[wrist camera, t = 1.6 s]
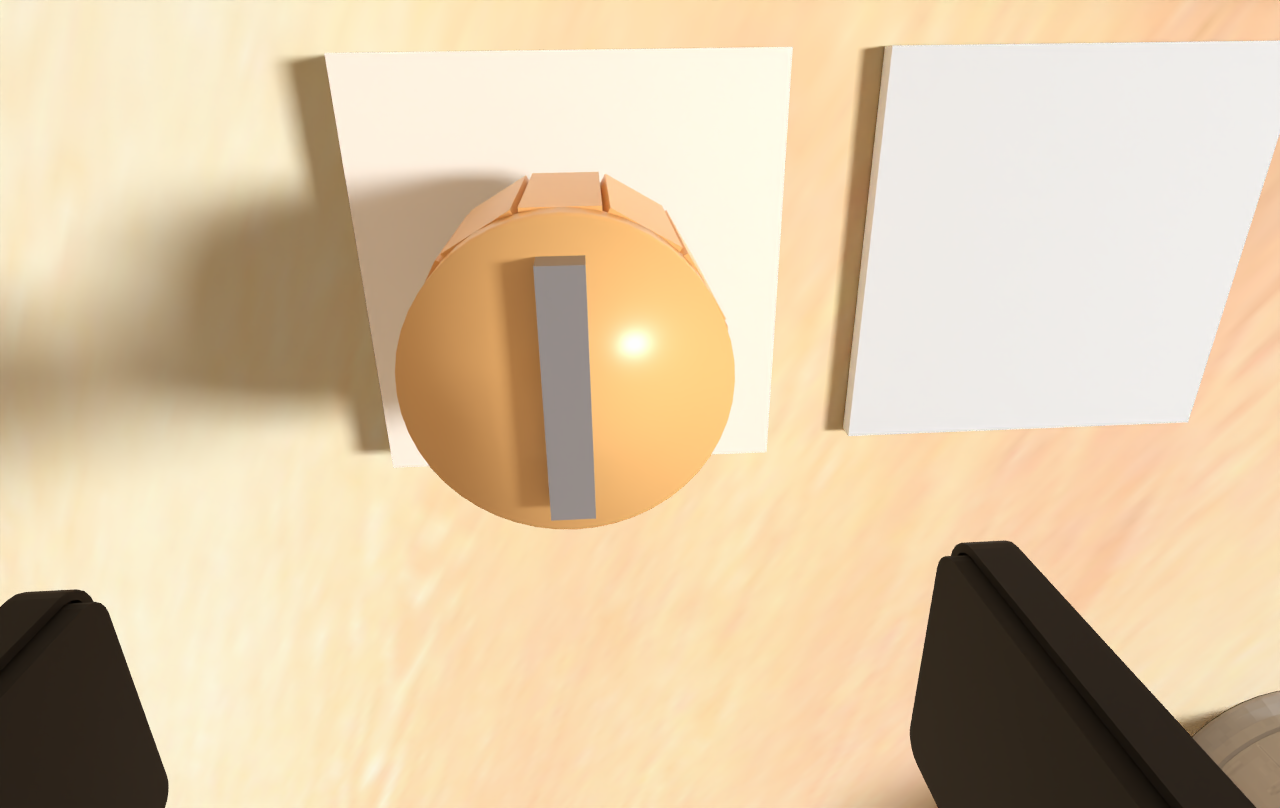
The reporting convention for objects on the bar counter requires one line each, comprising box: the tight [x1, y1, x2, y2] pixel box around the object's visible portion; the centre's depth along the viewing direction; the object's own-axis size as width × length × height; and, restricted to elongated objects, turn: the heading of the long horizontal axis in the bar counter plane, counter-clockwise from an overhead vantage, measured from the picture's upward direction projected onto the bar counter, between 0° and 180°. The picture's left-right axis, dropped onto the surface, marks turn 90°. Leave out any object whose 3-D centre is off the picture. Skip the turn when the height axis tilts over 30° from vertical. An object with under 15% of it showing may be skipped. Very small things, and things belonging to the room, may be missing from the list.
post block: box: [324, 47, 793, 468], centre depth 20 cm, size 12×12×8 cm
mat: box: [843, 41, 1280, 436], centre depth 24 cm, size 12×12×1 cm
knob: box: [395, 172, 735, 529], centre depth 17 cm, size 7×7×6 cm
